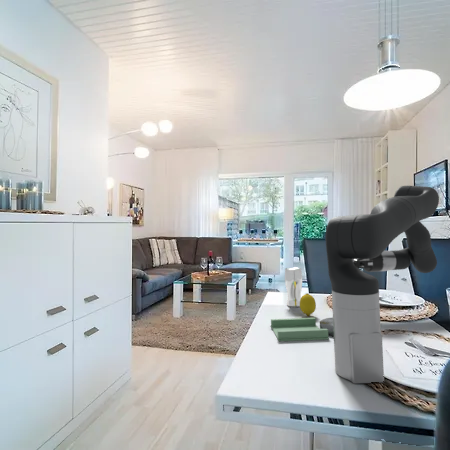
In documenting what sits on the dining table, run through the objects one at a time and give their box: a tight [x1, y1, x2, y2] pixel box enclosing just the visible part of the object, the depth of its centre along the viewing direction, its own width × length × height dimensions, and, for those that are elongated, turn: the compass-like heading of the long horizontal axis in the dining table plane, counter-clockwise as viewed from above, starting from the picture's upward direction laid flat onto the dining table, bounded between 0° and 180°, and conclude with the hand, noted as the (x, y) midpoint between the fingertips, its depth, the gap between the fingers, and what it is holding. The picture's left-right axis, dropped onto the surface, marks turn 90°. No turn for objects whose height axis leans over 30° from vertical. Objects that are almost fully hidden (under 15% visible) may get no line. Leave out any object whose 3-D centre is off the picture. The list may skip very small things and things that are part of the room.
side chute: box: [270, 317, 330, 342], centre depth 91 cm, size 14×14×2 cm
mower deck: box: [319, 317, 334, 338], centre depth 91 cm, size 14×14×2 cm
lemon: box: [299, 293, 317, 317], centre depth 108 cm, size 6×6×8 cm
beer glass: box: [284, 267, 303, 308], centre depth 124 cm, size 7×7×15 cm
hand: (335, 263), depth 109 cm, fingers open, 8 cm apart
